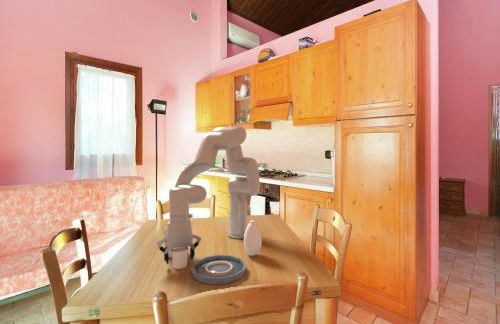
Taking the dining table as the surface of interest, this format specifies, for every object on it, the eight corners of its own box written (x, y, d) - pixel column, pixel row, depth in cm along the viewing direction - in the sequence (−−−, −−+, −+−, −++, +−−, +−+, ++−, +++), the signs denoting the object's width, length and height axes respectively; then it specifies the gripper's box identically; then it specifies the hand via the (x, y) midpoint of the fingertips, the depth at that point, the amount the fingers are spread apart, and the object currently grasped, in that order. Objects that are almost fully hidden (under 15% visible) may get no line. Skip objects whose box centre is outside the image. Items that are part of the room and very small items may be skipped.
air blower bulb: (248, 260, 113) (248, 218, 112) (240, 253, 120) (240, 213, 119) (264, 256, 117) (265, 215, 116) (256, 250, 123) (256, 212, 122)
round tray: (234, 257, 116) (234, 252, 116) (253, 278, 98) (253, 271, 97) (187, 265, 108) (187, 259, 108) (198, 289, 90) (198, 282, 90)
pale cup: (172, 262, 111) (172, 245, 111) (189, 261, 112) (189, 245, 111) (169, 269, 104) (169, 252, 104) (187, 269, 105) (187, 251, 104)
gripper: (198, 214, 114) (199, 253, 114) (155, 218, 107) (156, 260, 108) (203, 218, 107) (203, 260, 108) (157, 223, 100) (157, 268, 101)
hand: (179, 260), depth 108 cm, fingers open, 9 cm apart
